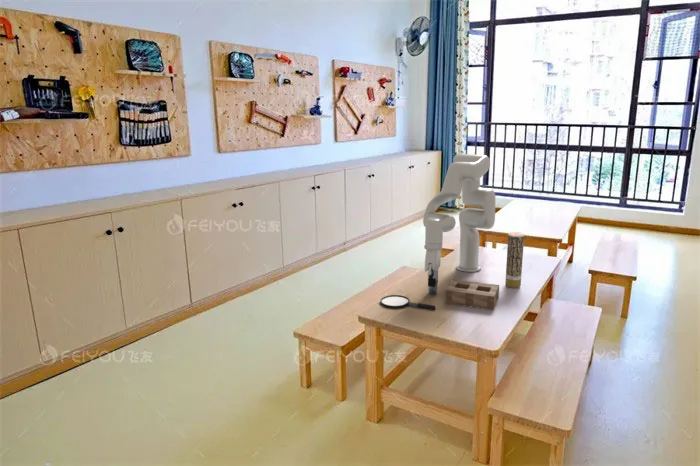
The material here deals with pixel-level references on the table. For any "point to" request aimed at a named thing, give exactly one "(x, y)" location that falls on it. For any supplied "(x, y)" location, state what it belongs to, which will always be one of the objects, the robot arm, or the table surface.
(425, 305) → the magnifying glass
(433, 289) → the steel pin
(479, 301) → the brown rectangular block
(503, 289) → the table surface
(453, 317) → the table surface
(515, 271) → the bark pattern cylinder
